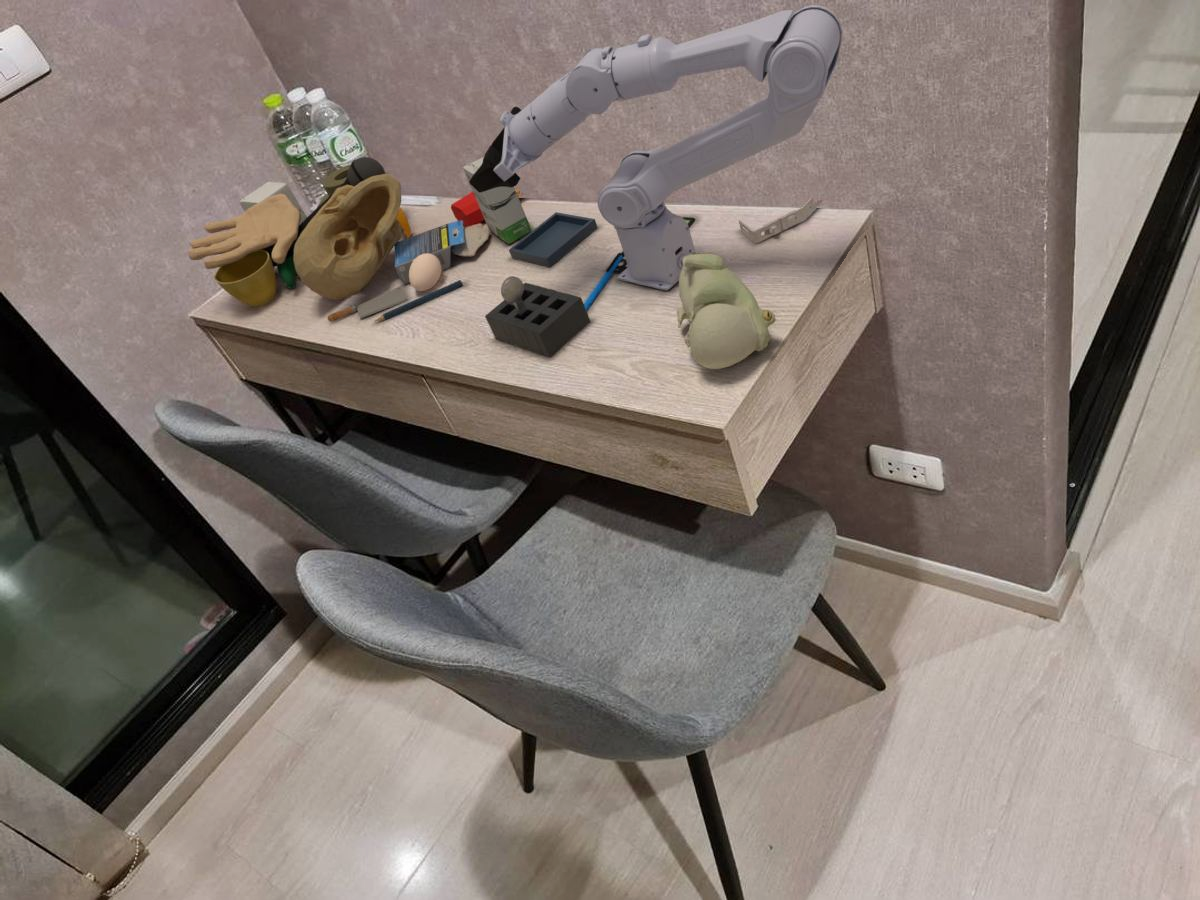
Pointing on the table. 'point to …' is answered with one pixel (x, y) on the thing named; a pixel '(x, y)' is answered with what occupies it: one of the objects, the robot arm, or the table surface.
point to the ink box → (500, 208)
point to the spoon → (514, 295)
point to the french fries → (469, 210)
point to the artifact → (471, 240)
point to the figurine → (720, 313)
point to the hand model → (250, 233)
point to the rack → (539, 320)
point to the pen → (604, 280)
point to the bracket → (780, 222)
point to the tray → (553, 239)
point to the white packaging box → (271, 190)
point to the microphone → (351, 180)
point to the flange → (335, 181)
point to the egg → (424, 272)
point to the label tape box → (427, 247)
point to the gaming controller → (288, 272)
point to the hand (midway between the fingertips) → (484, 169)
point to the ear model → (349, 237)
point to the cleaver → (373, 305)
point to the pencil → (420, 300)
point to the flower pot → (249, 279)
